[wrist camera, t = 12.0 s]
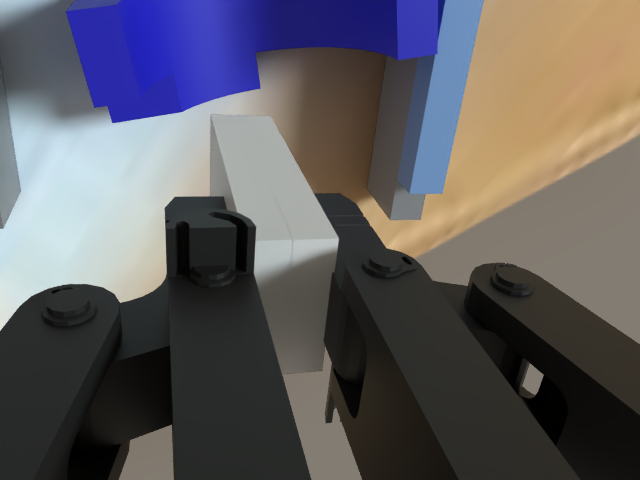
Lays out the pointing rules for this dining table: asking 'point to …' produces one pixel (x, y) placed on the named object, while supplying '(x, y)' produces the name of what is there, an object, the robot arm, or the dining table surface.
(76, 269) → the dining table surface
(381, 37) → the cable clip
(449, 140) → the blue grey block group
